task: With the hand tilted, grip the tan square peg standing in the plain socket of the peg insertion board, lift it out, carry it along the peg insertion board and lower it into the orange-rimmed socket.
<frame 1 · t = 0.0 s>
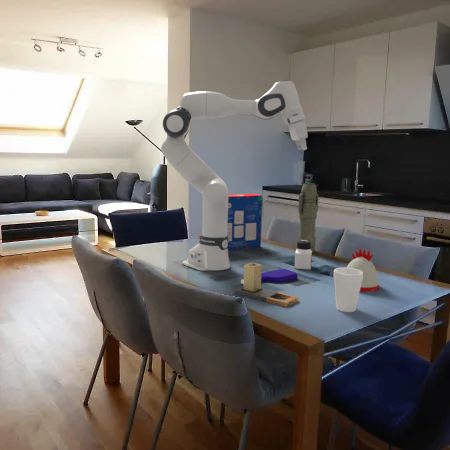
hand: (302, 149, 198), 52 cm above the table, tool tilted 20°, fingers open, 8 cm apart
pasta box: (234, 248, 244), on the table
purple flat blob: (268, 282, 186), on the table
medicine bottle: (302, 267, 208), on the table
olive green tall piece: (306, 251, 240), on the table
foam cup: (346, 309, 155), on the table
tan square peg: (252, 293, 169), resting in peg insertion board
peg insertion board: (265, 297, 166), on the table
kitchen timer: (359, 286, 181), on the table
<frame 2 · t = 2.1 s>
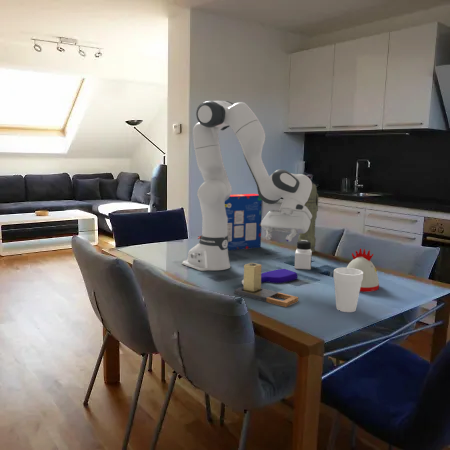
hand: (277, 239, 176), 18 cm above the table, tool tilted 45°, fingers open, 8 cm apart
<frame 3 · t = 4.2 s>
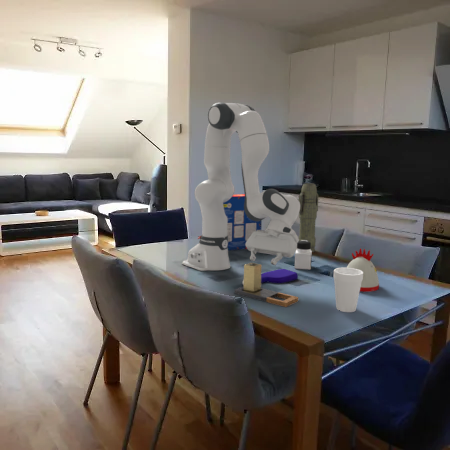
hand: (262, 262, 171), 11 cm above the table, tool tilted 45°, fingers open, 8 cm apart
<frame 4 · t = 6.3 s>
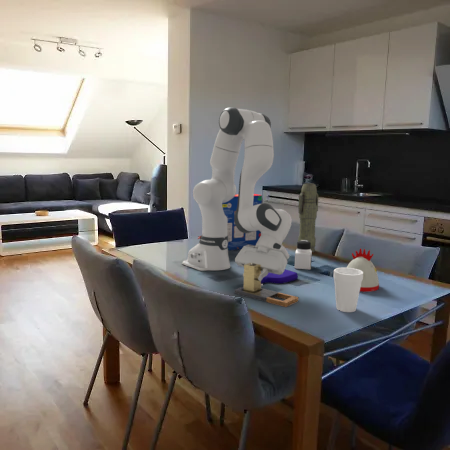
hand: (251, 278, 168), 6 cm above the table, tool tilted 45°, fingers closed on tan square peg, 4 cm apart
tan square peg: (252, 293, 169), resting in peg insertion board, touching gripper
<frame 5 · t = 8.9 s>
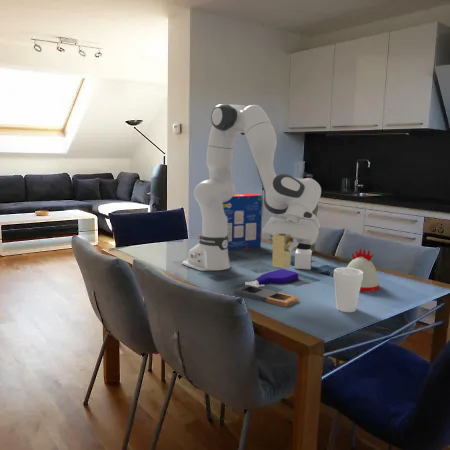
hand: (280, 249, 158), 19 cm above the table, tool tilted 45°, fingers closed on tan square peg, 4 cm apart
tan square peg: (281, 265, 160), point 13 cm above the table, touching gripper
when the fingers open (6 cm above the table, at t = 11.5 s): tan square peg stays where it is, resting in peg insertion board.
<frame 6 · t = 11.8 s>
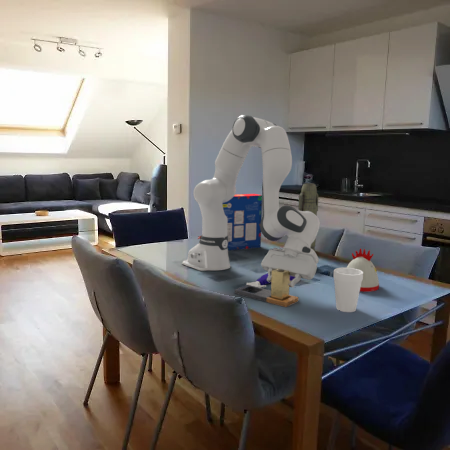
hand: (279, 283, 160), 6 cm above the table, tool tilted 45°, fingers open, 7 cm apart
tan square peg: (279, 301, 162), resting in peg insertion board
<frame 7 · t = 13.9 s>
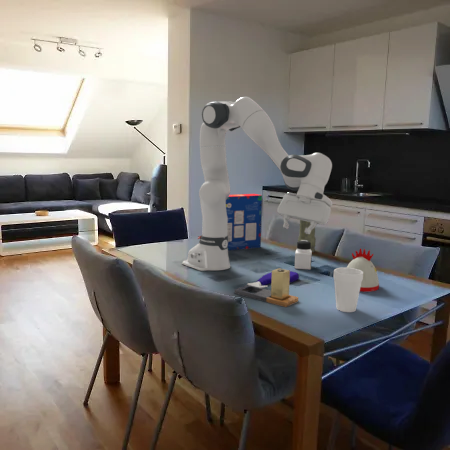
hand: (295, 230, 167), 23 cm above the table, tool tilted 30°, fingers open, 8 cm apart
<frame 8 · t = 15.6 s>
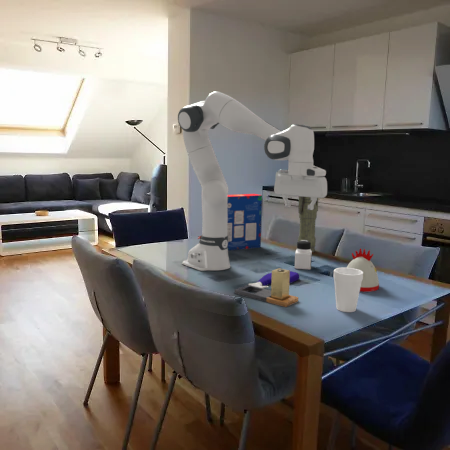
hand: (299, 208, 168), 31 cm above the table, tool pointing down, fingers open, 8 cm apart
at the end: tan square peg 0.1 cm from the target spot on the peg insertion board, point 0.0 cm above the peg insertion board's base; tan square peg tilted 0°; the gripper is holding nothing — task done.
